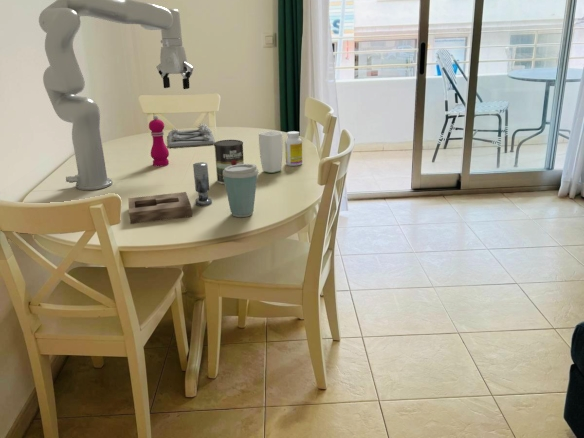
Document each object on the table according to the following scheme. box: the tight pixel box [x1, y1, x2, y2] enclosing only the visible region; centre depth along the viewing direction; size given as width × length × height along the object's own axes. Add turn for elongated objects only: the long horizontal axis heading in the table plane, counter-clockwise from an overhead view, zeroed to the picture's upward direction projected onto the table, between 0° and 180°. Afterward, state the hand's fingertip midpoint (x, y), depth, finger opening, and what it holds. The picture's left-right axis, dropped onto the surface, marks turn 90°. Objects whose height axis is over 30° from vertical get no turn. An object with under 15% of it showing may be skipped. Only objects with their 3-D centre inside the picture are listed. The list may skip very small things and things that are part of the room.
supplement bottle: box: [284, 130, 303, 167], centre depth 214 cm, size 7×7×13 cm
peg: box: [192, 162, 213, 207], centre depth 172 cm, size 5×5×13 cm
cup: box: [258, 130, 284, 174], centre depth 204 cm, size 7×7×15 cm
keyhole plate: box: [128, 191, 193, 225], centre depth 166 cm, size 18×14×4 cm
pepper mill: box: [148, 115, 170, 167], centre depth 217 cm, size 7×7×20 cm
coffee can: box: [213, 139, 245, 185], centre depth 195 cm, size 10×10×14 cm
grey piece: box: [167, 123, 216, 149], centre depth 262 cm, size 30×22×7 cm
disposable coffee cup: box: [222, 163, 260, 218], centre depth 161 cm, size 11×11×15 cm
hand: (176, 88), depth 214 cm, fingers open, 9 cm apart
